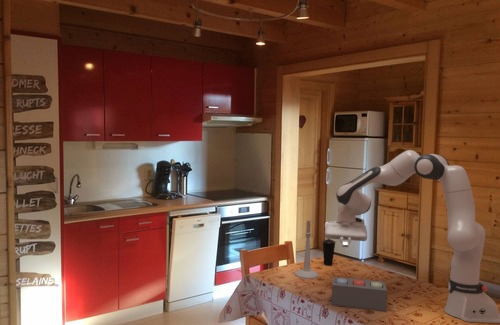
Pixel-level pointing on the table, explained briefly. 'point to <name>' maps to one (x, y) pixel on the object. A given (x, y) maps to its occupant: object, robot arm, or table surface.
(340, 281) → the blue button
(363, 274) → the table surface
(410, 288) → the table surface
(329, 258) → the drinking cup
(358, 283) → the red button
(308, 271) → the candlestick
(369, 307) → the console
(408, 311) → the table surface
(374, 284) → the green button
